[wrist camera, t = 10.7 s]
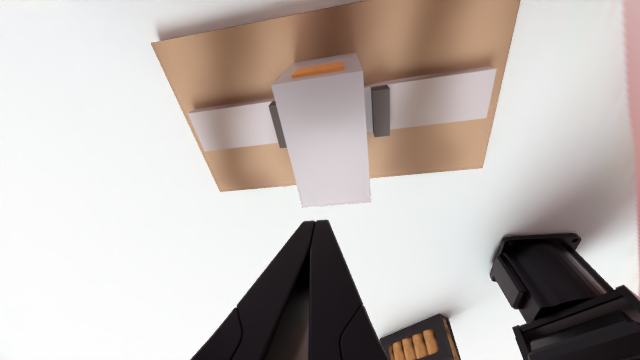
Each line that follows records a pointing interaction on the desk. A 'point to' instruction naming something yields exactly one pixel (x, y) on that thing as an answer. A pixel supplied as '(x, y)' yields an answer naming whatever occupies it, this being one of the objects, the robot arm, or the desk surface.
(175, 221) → the desk surface
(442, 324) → the ammunition clip
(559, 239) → the robot arm
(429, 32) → the rail base
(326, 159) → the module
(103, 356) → the desk surface
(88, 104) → the desk surface
